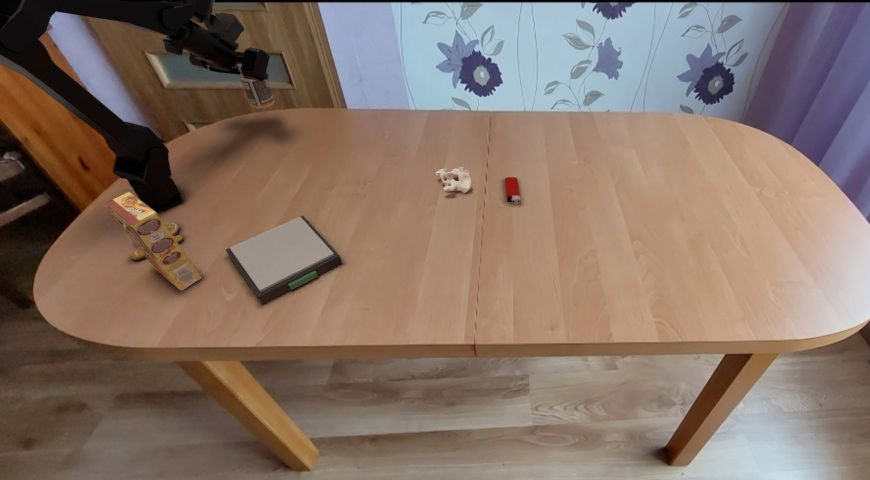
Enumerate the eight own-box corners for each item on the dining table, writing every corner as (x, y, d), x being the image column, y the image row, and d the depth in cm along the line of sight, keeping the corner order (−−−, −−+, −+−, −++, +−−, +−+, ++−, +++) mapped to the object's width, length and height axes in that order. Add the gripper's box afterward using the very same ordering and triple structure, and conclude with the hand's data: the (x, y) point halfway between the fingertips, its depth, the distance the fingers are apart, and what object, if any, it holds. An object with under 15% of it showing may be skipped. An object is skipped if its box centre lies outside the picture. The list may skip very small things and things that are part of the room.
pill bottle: (275, 97, 117) (261, 56, 110) (275, 107, 113) (260, 66, 106) (250, 100, 116) (235, 59, 109) (250, 111, 112) (233, 69, 105)
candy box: (203, 278, 83) (158, 211, 71) (180, 292, 80) (130, 225, 69) (176, 257, 86) (129, 190, 75) (153, 270, 84) (101, 203, 73)
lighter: (517, 177, 103) (520, 199, 98) (517, 181, 104) (520, 204, 99) (504, 177, 103) (507, 199, 98) (504, 182, 104) (507, 204, 99)
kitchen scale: (263, 306, 79) (258, 296, 77) (229, 257, 86) (223, 247, 85) (343, 265, 86) (340, 255, 84) (305, 223, 93) (301, 213, 91)
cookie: (122, 258, 84) (146, 221, 91) (125, 261, 85) (148, 225, 92) (169, 256, 85) (189, 220, 92) (172, 259, 86) (192, 223, 92)
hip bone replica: (433, 164, 102) (462, 156, 103) (436, 180, 105) (464, 172, 106) (443, 184, 96) (473, 176, 98) (446, 200, 100) (475, 192, 101)
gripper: (246, 9, 93) (298, 47, 108) (174, -3, 97) (233, 35, 112) (233, 64, 94) (286, 95, 109) (162, 50, 98) (223, 81, 113)
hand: (257, 75), depth 111 cm, fingers closed on pill bottle, 6 cm apart
